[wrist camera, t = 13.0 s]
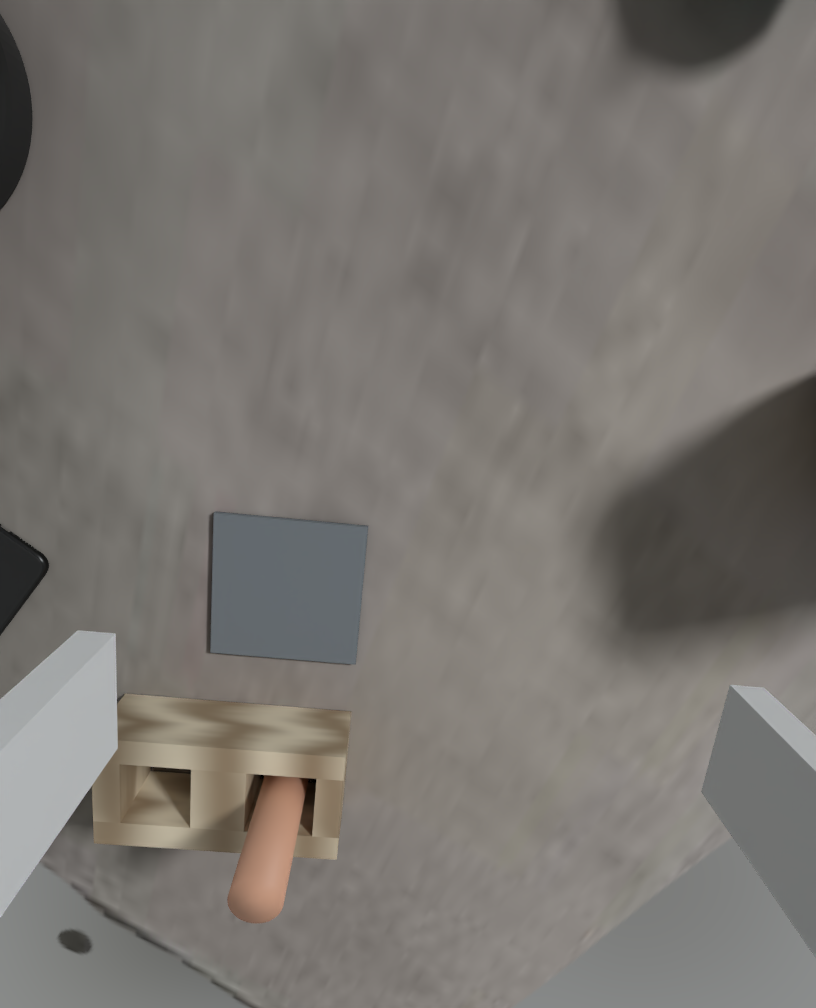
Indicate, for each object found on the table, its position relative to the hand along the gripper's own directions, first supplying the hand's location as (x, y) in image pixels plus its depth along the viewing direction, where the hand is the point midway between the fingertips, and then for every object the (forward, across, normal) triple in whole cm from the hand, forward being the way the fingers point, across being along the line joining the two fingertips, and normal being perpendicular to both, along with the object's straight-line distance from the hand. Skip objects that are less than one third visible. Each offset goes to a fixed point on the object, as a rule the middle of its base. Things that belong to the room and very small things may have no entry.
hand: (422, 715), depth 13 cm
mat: (+27, -7, -9) cm, 29 cm away
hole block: (+27, -10, -22) cm, 36 cm away
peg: (+27, -6, -22) cm, 35 cm away
